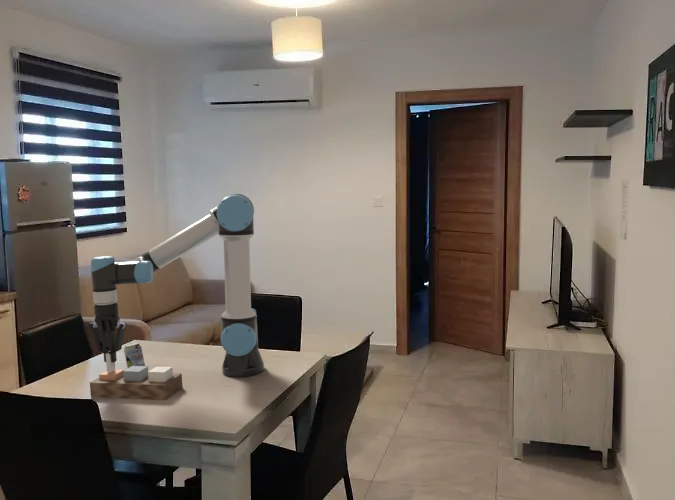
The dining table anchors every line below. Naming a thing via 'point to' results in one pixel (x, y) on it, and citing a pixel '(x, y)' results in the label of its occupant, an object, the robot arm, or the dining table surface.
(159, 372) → the offwhite key
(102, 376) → the terracotta key
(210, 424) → the dining table surface
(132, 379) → the slate key
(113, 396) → the console
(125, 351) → the beverage can
